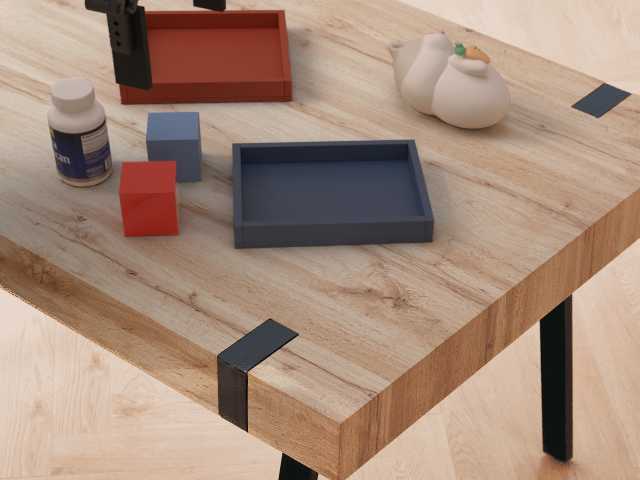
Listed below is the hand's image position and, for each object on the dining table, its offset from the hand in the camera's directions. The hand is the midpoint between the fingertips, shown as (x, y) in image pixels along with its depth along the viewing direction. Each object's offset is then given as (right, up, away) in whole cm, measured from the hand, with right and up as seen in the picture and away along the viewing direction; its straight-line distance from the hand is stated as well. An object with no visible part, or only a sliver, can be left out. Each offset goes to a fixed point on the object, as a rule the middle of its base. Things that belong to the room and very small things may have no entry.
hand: (174, 44), depth 86 cm
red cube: (-5, -13, +16) cm, 21 cm away
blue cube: (-4, -7, +23) cm, 24 cm away
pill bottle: (-13, -8, +21) cm, 26 cm away
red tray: (-3, +6, +38) cm, 39 cm away
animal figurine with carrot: (+24, 0, +33) cm, 41 cm away
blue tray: (+12, -11, +20) cm, 25 cm away
